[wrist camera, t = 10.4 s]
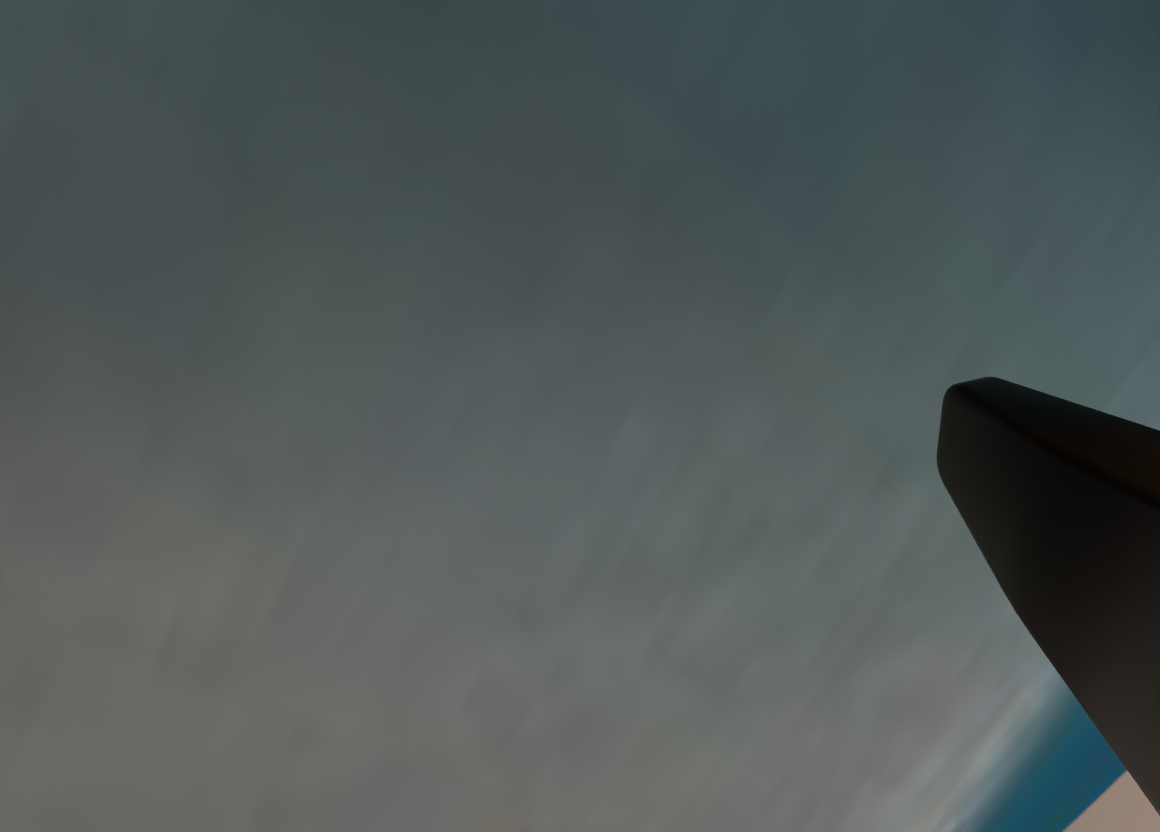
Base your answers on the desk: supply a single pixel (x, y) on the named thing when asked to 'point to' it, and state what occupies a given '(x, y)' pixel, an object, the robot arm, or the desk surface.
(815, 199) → the desk surface
